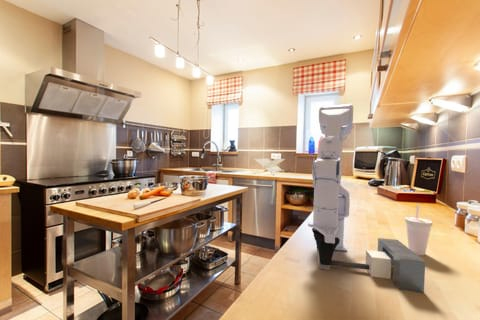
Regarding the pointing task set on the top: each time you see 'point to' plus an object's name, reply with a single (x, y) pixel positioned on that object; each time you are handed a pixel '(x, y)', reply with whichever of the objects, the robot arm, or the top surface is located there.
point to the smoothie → (418, 233)
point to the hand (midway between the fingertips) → (323, 260)
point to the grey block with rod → (367, 264)
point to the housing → (404, 265)
